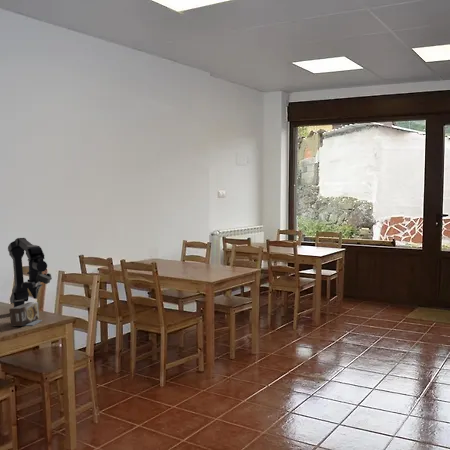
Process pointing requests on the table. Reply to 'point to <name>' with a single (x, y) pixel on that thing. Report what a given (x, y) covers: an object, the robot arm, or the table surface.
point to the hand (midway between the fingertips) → (35, 298)
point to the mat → (32, 323)
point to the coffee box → (24, 314)
